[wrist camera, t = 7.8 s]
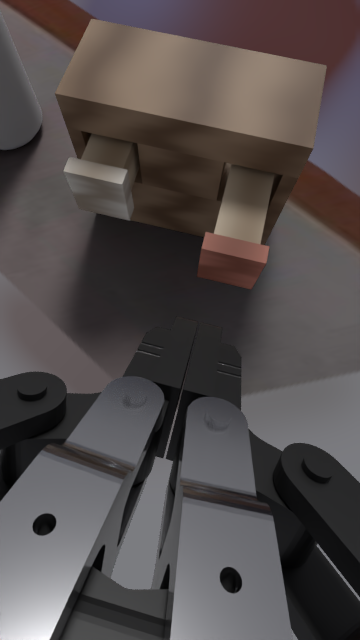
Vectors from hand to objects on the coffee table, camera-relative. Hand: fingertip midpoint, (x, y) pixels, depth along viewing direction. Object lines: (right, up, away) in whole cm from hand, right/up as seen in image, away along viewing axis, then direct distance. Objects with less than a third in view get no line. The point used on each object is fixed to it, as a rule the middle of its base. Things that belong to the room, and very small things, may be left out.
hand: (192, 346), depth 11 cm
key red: (+4, +8, +15) cm, 17 cm away
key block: (0, +12, +22) cm, 25 cm away
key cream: (-5, +13, +16) cm, 21 cm away
